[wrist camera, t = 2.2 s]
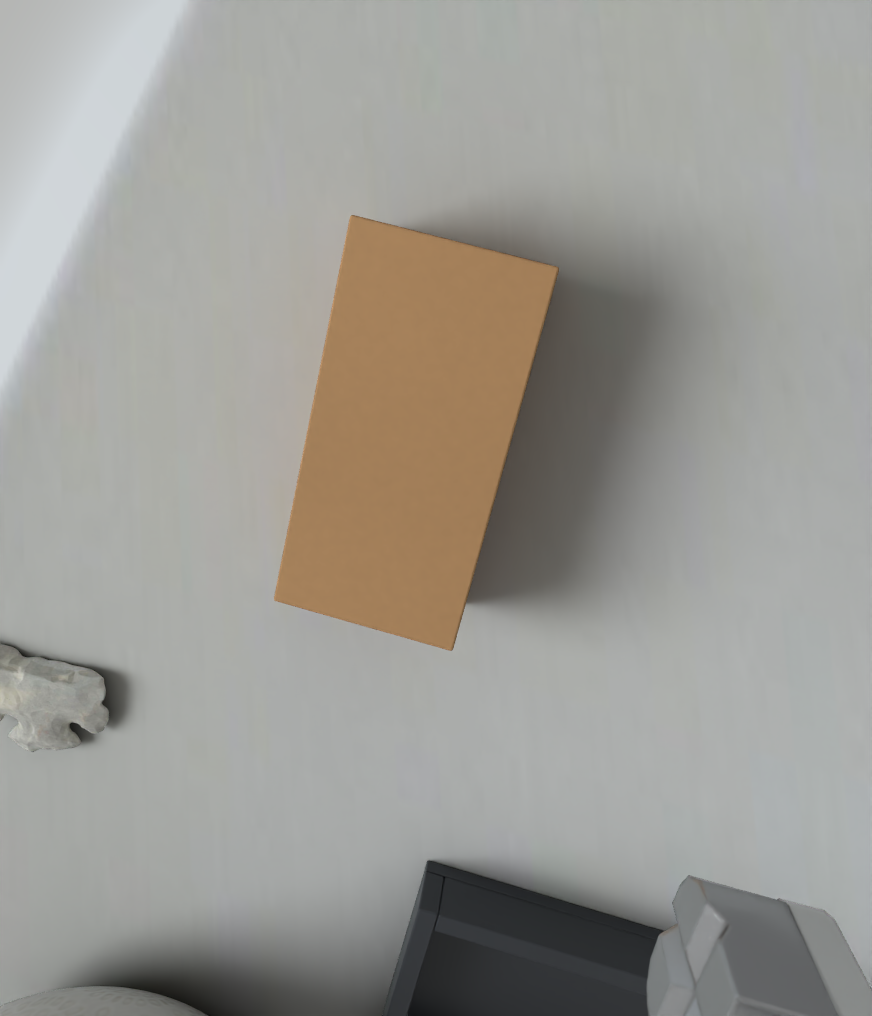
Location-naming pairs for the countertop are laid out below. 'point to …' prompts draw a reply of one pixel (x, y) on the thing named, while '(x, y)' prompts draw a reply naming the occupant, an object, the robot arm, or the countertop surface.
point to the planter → (97, 1003)
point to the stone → (49, 700)
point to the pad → (410, 428)
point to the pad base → (515, 954)
